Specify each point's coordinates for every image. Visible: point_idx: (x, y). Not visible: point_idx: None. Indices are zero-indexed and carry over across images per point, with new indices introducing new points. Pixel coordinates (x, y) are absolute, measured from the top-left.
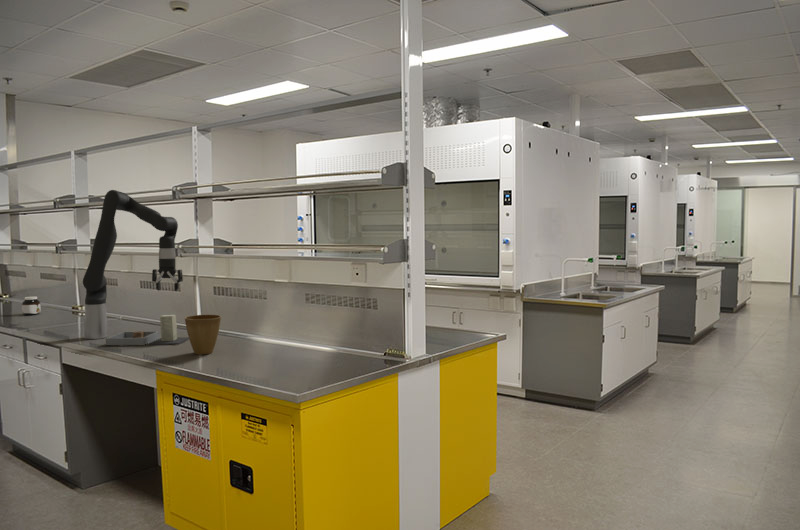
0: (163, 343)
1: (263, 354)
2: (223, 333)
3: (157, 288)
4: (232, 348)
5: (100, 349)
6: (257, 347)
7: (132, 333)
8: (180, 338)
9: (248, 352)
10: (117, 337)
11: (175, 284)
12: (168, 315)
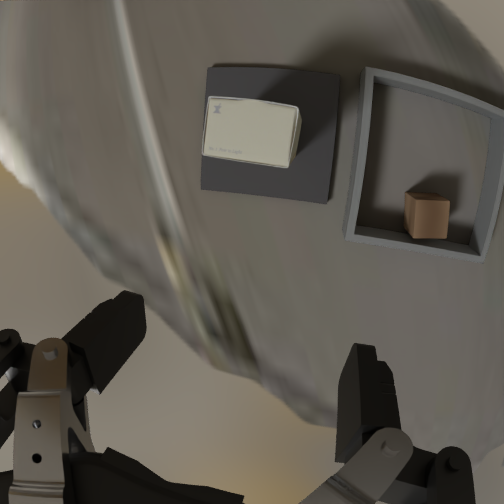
0: (274, 68)
1: (10, 10)
2: (124, 275)
3: (373, 359)
4: (50, 40)
5: (487, 54)
6: (13, 65)
7: (453, 249)
8: (232, 167)
9: (26, 14)
10: (491, 191)
11: (80, 332)
12: (243, 128)
